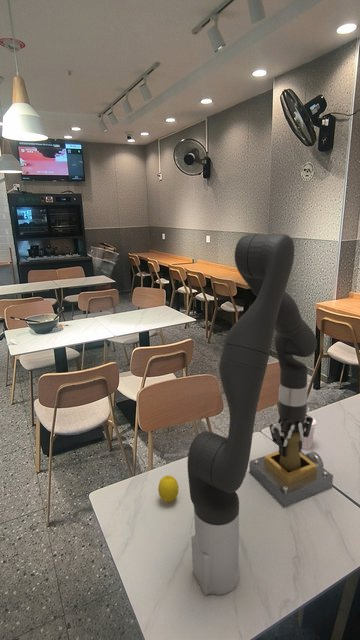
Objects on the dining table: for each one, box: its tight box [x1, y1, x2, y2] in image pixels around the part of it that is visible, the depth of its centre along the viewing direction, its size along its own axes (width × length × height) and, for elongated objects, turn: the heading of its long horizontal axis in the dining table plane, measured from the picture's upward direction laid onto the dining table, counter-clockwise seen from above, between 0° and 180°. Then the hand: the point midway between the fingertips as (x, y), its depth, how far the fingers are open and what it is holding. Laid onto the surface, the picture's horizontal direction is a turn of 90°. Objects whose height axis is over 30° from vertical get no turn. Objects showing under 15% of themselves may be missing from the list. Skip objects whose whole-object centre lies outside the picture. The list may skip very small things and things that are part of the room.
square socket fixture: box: [248, 450, 334, 509], centre depth 107 cm, size 19×16×6 cm
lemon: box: [157, 474, 179, 503], centre depth 100 cm, size 6×6×8 cm
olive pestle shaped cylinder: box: [279, 432, 301, 471], centre depth 105 cm, size 6×6×11 cm
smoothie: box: [302, 407, 317, 450], centre depth 122 cm, size 6×6×14 cm
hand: (290, 452), depth 106 cm, fingers closed on olive pestle shaped cylinder, 4 cm apart
